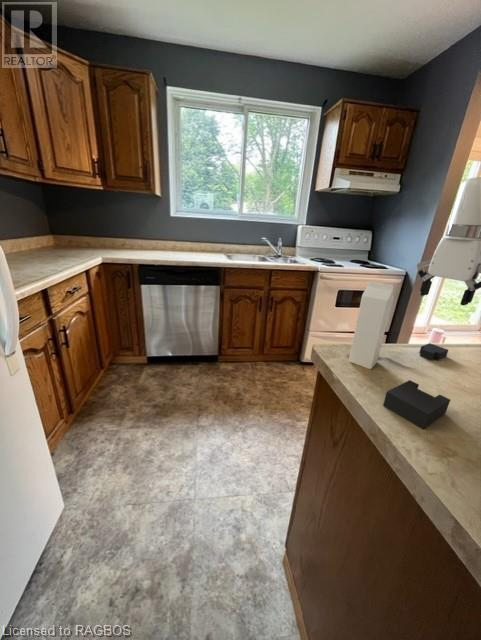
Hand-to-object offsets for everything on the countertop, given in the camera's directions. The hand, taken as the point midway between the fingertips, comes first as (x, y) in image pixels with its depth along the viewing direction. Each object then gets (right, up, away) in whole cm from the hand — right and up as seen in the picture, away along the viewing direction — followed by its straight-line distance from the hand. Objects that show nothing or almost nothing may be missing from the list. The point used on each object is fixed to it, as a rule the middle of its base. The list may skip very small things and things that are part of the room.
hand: (443, 299), depth 73 cm
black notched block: (-19, -24, -17) cm, 35 cm away
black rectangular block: (0, -17, +5) cm, 17 cm away
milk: (-21, -17, +2) cm, 27 cm away
